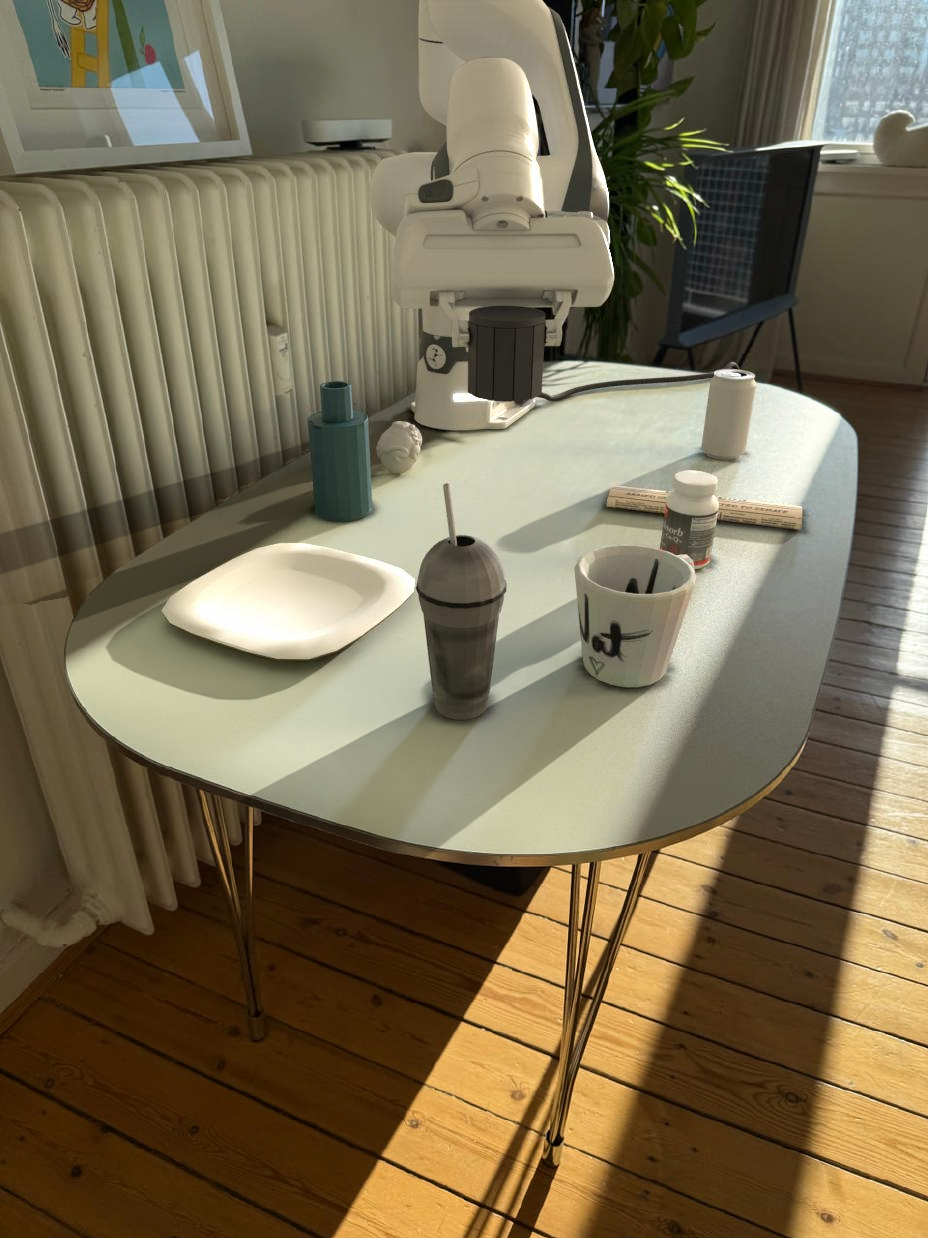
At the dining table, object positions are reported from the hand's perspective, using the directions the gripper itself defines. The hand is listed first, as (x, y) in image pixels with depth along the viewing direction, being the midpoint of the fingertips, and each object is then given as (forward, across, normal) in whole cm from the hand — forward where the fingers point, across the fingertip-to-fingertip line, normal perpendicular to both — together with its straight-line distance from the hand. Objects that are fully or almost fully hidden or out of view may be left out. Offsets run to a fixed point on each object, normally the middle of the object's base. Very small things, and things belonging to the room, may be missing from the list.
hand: (506, 343), depth 81 cm
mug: (+27, -12, -10) cm, 31 cm away
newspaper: (+3, -28, -34) cm, 45 cm away
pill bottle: (+13, -22, -24) cm, 35 cm away
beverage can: (-12, -38, -49) cm, 63 cm away
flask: (+1, +17, -36) cm, 40 cm away
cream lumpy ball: (-9, +10, -46) cm, 48 cm away
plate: (+19, +21, -19) cm, 34 cm away
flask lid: (+3, 0, -4) cm, 5 cm away
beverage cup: (+32, +5, -6) cm, 33 cm away
